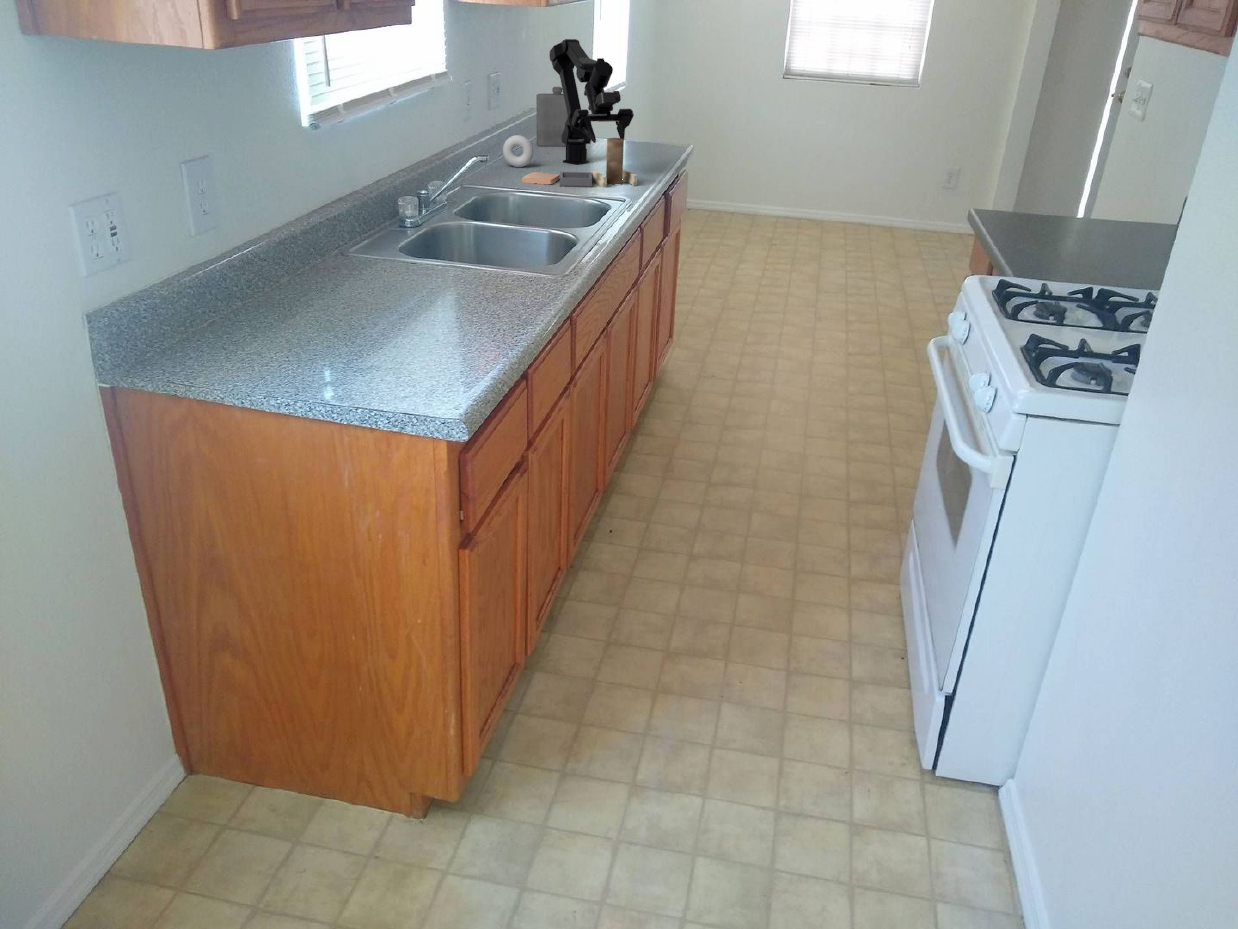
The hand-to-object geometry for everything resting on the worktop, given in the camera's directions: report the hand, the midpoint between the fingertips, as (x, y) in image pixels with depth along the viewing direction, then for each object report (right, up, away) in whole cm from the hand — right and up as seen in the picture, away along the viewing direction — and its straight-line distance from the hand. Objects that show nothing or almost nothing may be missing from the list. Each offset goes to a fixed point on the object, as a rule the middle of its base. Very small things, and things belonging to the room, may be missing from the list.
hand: (609, 141), depth 290 cm
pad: (-21, -12, +1) cm, 24 cm away
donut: (-30, -2, +19) cm, 35 cm away
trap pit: (-10, -13, -1) cm, 17 cm away
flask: (-20, +18, +57) cm, 63 cm away
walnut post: (+2, -12, +1) cm, 13 cm away
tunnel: (+2, -12, +1) cm, 13 cm away
